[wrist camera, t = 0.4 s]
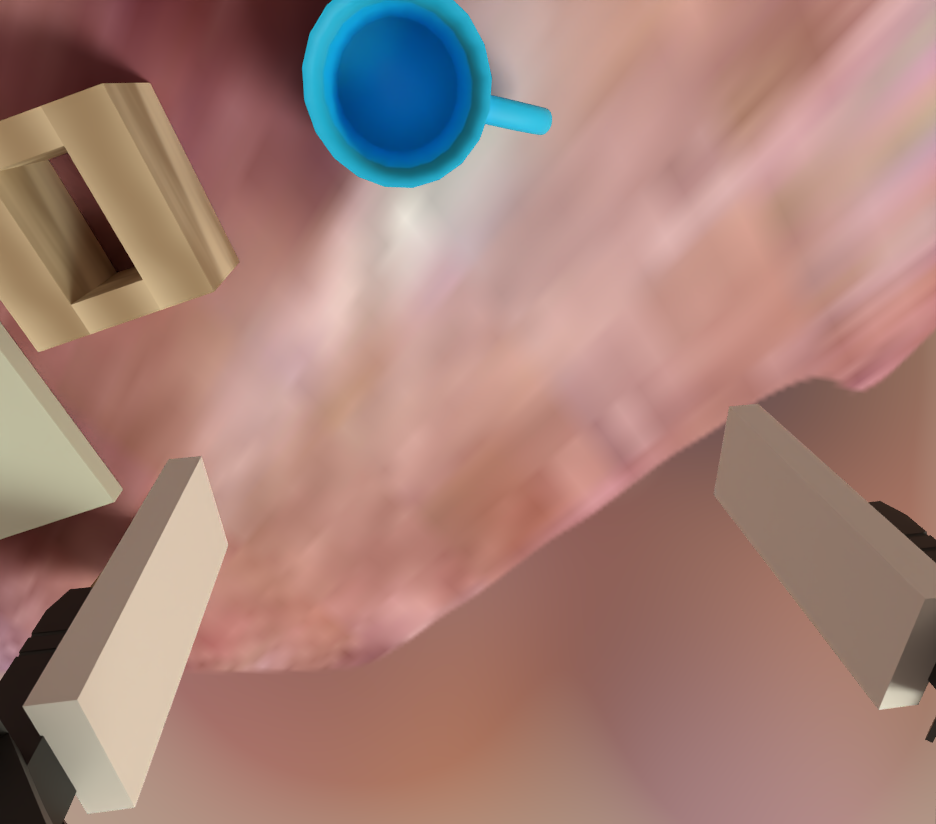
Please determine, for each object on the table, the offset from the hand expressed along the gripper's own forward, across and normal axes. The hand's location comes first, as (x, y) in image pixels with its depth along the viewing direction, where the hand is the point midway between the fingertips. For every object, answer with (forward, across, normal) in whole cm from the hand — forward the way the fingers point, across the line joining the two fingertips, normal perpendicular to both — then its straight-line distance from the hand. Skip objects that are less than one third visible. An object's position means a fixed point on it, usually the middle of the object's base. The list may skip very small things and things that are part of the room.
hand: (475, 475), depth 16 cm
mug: (+26, +1, +8) cm, 27 cm away
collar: (+26, -18, +3) cm, 31 cm away
